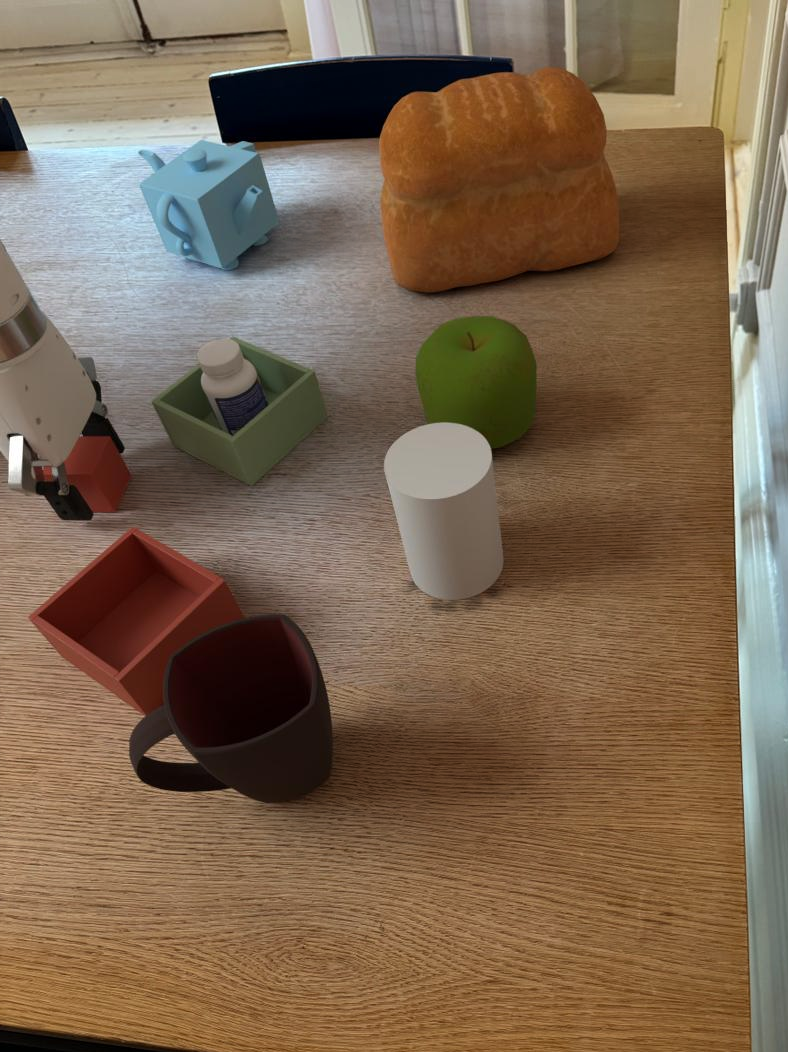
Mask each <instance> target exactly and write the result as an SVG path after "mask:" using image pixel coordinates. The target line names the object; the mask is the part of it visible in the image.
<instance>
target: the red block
mask: <svg viewBox="0 0 788 1052" xmlns="http://www.w3.org/2000/svg"><path fill="white" fill-rule="evenodd" d="M64 463H65V468H66V473H67V478H68V484H69V485H74V486H76V487H77V489H78V490H79V492H80V493H81V495H82V496H83V498H84V499H85V501H86V502H87V504H88V505H89V507H90V508H91V510H92V511H93V513H116V512H117V509H118V507H119V505H120V503H121V501H122V498H123V496H124V494H125V492H126V489H127V488H128V485H129V483H130V480H131V478H132V476H133V474H132V472H131V471H130V469H129V467H128V466H127V464H126V462H125V460H124V458H123V456H122V454H120V453H119V451H118V450H117V448H116V446H115V444H114V443H113V441H112V439H111V437H110V436H83V435H82V436H79V438H78V440H77V442H76V444H75V445H74V447H73V449H72V451H71V453H70V454H69V456H68V457H67V459H66V460H65V461H64ZM42 469H43V474H44V479H45V481H54V477H53V472H52V466H43V468H42Z"/></svg>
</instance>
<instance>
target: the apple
mask: <svg viewBox="0 0 788 1052" xmlns="http://www.w3.org/2000/svg"><path fill="white" fill-rule="evenodd" d="M530 343H531V342H530V341H529V338H528V336H527V335H526V334H525V333H524V332H523V331H521V330H520V329H519V328H518V327H517V326H516V325H515V324H514V323H511V322H509V321H508V320H505V319H502V318H499V317H496V316H491V315H471V316H463V317H457V318H454V319H451V320H448V321H446V322H443V323H440V324H439V325H438V327H437V328H435V329H434V330H433V332H431V334H430V335H429V336H428V337H427V338H426V339H425V340H424V341H423V342H422V343H421V345H420V347H419V350H418V352H417V353H416V356H415V380H416V381H415V382H416V388H417V392H418V395H419V399H420V402H421V406H422V411H423V414H424V417H425V420H426V425H428V424H433V423H457V424H461V425H465V426H468V427H470V428H472V429H474V430H476V431H478V432H479V433H480V434H481V435H483V436H484V438H485V439H486V440H487V442H488V443H489V445H490V448H491V450H492V449H497V448H503V447H504V446H506V445H509V444H510V443H512V442H514V441H516V440H518V439H520V438H521V437H522V436H523V435H525V433H526V432H527V431H528V430H529V429H531V427H532V425H533V422H534V419H535V415H536V409H537V393H538V364H537V361H536V358H535V355H534V351H533V348H532V346H531V344H530Z"/></svg>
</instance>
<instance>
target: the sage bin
mask: <svg viewBox="0 0 788 1052" xmlns="http://www.w3.org/2000/svg"><path fill="white" fill-rule="evenodd" d="M229 339H231V340H234V341H235V342H237V343H238V345H239V347H240V349H241V352H242V354H243V357H244V359H246V360H248V361H249V362H250V363H251V364H252V365H253V366H254V368H255V370H256V372H257V375H258V377H259V380H260V383H261V385H262V388H263V391H264V394H265V396H266V399H267V402H268V404H269V406H267V407H266V408H265V409H264V410H263V411H262V412H260V413H259V414H258V415H257V416H256V417H255V418H253V419H252V420H251V421H250V422H249V423H248V424H246V425H245V426H244V427H243V428H242V429H241V430H239V431H238V432H237V433H236V434H235V435H234V436H232V435H229V434H227V433H225V432H223V431H221V429H220V427H219V425H218V422H217V420H216V418H215V415H214V413H213V411H212V408H211V406H210V404H209V402H208V400H207V397H206V395H205V393H204V391H203V388H202V385H201V377H202V374H203V371H202V370H201V367H200V365H199V363H197V364H196V365H195V366H194V367H192V368H191V369H190V370H188V371H187V372H186V373H185V374H184V375H182V376H181V377H180V378H179V379H177V380H176V381H175V382H174V383H172V384H171V385H170V386H168V387H167V388H166V389H165V390H164V391H162V392H161V393H159V395H157V396H156V397H154V398H153V399H152V400H150V403H151V405H152V407H153V409H154V411H155V413H156V415H157V416H158V419H159V420H160V423H161V424H162V426H163V429H164V431H165V432H166V434H167V437H168V438H169V441H170V442H171V444H172V446H173V447H176V448H177V449H179V450H181V451H183V452H185V453H186V454H188V455H191V456H192V457H194V458H197V459H199V460H201V461H202V462H204V463H206V464H208V465H210V466H212V467H214V468H216V469H217V470H219V471H222V472H223V473H226V474H227V475H229V476H231V477H233V478H236V479H237V480H239V481H241V482H243V483H245V484H247V485H249V486H251V487H253V486H254V485H255V484H256V483H258V481H259V480H261V478H263V477H264V476H265V475H266V474H267V473H268V472H270V470H272V469H273V468H274V467H275V466H276V465H277V464H278V463H279V462H280V461H281V460H282V459H284V458H285V457H286V456H287V455H288V454H289V453H291V451H293V450H294V449H295V448H296V447H297V446H298V445H299V444H300V443H301V442H302V441H303V440H305V439H306V438H307V437H308V436H309V435H310V434H311V433H313V432H314V431H315V430H316V429H317V428H318V427H319V426H320V425H321V424H322V423H324V422H325V421H326V420H327V419H328V418H329V413H328V410H327V407H326V402H325V400H324V396H323V392H322V390H321V386H320V383H319V380H318V377H317V374H316V371H315V370H313V369H311V368H309V367H306V366H304V365H301V364H300V363H296V362H295V361H292V360H289V359H287V358H285V357H283V356H280V355H278V354H275V353H273V352H271V351H270V350H269V351H268V350H267V349H264V348H261V347H259V346H257V345H254V344H252V343H249V342H247V341H246V340H243V339H240V338H238V337H235V336H232V337H230V338H229Z"/></svg>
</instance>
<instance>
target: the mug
mask: <svg viewBox="0 0 788 1052" xmlns="http://www.w3.org/2000/svg"><path fill="white" fill-rule="evenodd" d="M328 694H329V693H328V691H327V686H326V682H325V678H324V674H323V672H322V669H321V666H320V663H319V661H318V658H317V655H316V653H315V651H314V648H313V647H312V644H311V642H310V640H309V639H308V638H307V636H306V634H305V633H304V631H302V629H301V628H300V627H299V625H297V624H296V623H295V622H294V621H293V620H292V619H291V618H290V617H289V616H287V615H286V614H283V613H269V614H268V613H267V614H257V615H252V616H247V617H245V618H242V619H239V620H235V621H232V622H229V623H226V624H223V625H221V626H218V627H216V628H213V629H211V630H209V631H207V632H205V633H203V634H201V635H199V636H198V637H196V638H194V639H193V640H191V641H190V642H188V643H187V644H185V645H184V646H182V647H181V648H180V649H178V650H177V651H176V652H175V653H173V654H172V655H171V656H170V657H169V660H168V663H167V667H166V671H165V676H164V684H163V698H164V704H163V705H162V706H161V707H159V708H157V709H155V710H154V711H152V712H151V713H149V714H148V715H147V716H144V717H143V718H142V719H141V720H140V721H138V723H137V724H136V725H135V727H134V728H133V729H132V731H131V734H130V737H129V740H128V741H129V742H128V743H129V744H128V756H129V757H128V758H129V760H130V763H131V766H132V769H133V771H134V773H135V775H136V776H137V778H138V780H140V781H141V782H142V783H144V784H146V785H147V786H150V787H152V788H154V789H158V790H162V791H167V792H176V793H204V792H216V791H224V790H229V789H232V790H233V791H235V792H237V793H239V794H241V795H242V796H243V797H246V798H249V799H251V800H253V801H256V802H260V803H264V804H281V803H287V802H291V801H295V800H298V799H300V798H303V797H305V796H307V795H309V794H312V792H314V791H316V790H318V789H319V788H320V787H321V786H322V785H324V784H325V783H326V782H327V781H328V780H329V779H330V777H331V773H332V768H333V762H334V761H333V760H334V732H333V722H332V721H333V720H332V713H331V706H330V705H331V704H330V700H329V695H328ZM173 735H174V736H175V737H176V738H177V739H178V741H179V742H180V744H181V745H182V746H183V747H184V748H185V750H186V751H187V752H188V753H189V754H190V755H191V756H192V757H193V758H194V759H195V760H196V761H197V762H171V761H164V760H158V759H153V758H151V757H149V756H146V755H145V754H146V753H147V752H148V751H149V750H151V749H152V748H153V747H154V746H156V745H158V743H160V742H162V741H163V740H165V739H167V738H169V737H171V736H173Z"/></svg>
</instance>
